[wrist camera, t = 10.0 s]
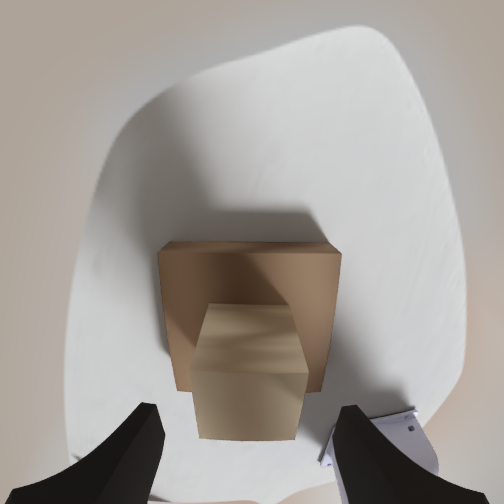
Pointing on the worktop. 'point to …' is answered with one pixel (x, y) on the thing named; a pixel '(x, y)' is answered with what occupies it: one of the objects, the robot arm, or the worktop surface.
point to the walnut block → (249, 293)
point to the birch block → (248, 374)
